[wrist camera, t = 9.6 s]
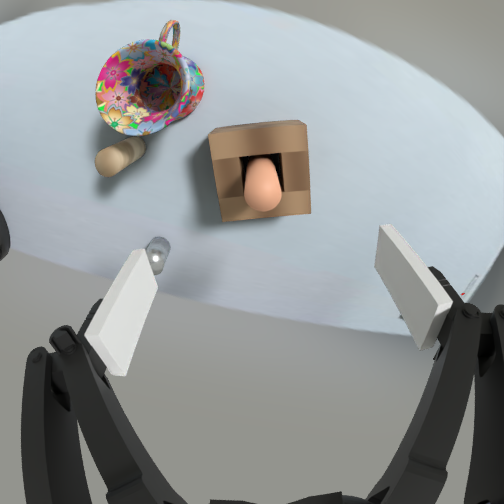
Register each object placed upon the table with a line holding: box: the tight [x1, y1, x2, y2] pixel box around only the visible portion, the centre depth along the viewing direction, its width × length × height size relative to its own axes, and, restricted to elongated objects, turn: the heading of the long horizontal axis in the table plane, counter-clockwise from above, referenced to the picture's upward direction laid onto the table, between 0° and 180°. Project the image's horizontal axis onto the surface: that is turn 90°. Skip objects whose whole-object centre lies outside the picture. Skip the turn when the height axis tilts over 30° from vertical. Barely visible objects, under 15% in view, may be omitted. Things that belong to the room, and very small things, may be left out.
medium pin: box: [95, 136, 146, 177], centre depth 30 cm, size 3×3×8 cm
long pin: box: [244, 154, 282, 212], centre depth 29 cm, size 3×3×12 cm
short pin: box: [146, 237, 170, 275], centre depth 39 cm, size 3×3×5 cm
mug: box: [96, 20, 204, 136], centre depth 24 cm, size 12×9×11 cm
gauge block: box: [208, 120, 311, 222], centre depth 32 cm, size 10×10×6 cm
